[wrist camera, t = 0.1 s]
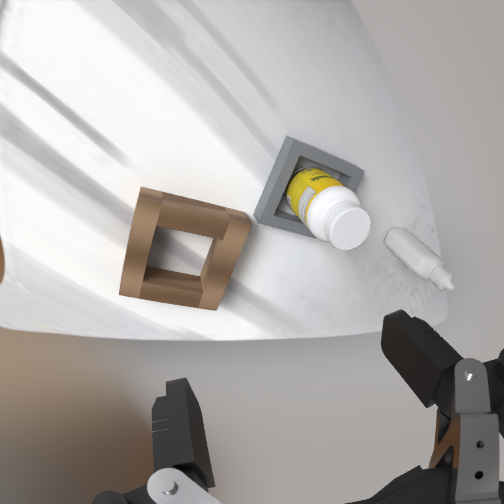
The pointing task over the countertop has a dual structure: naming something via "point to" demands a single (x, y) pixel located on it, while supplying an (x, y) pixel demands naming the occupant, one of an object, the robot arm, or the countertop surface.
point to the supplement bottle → (327, 208)
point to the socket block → (188, 220)
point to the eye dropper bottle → (419, 258)
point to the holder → (282, 174)
